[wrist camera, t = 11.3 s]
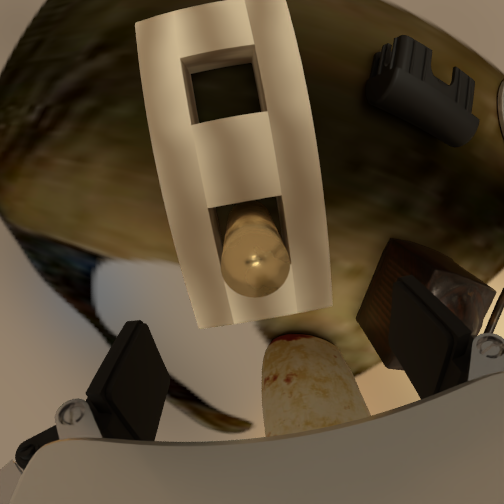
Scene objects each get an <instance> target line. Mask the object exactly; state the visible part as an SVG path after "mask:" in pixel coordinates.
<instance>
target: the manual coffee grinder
mask: <svg viewBox="0 0 504 504" xmlns="http://www.w3.org/2000/svg"><path fill="white" fill-rule="evenodd" d="M407 275H413V276H414V277H415V278H416V279H417V280H418V281H420V282H421V283H422V284H423V285H424V286H425V287H426V288H427V289H428V290H429V291H430V292H432V293H433V294H434V295H435V296H436V297H437V298H438V299H439V300H440V301H441V302H442V303H443V304H444V305H445V306H446V307H448V308H449V309H450V310H451V311H452V312H453V313H454V314H455V315H456V316H457V317H458V318H459V319H460V320H461V321H462V322H463V323H464V324H465V325H466V326H467V327H468V328H469V329H470V330H471V331H472V333H471V336H472V337H473V338H474V339H475V338H476V336H477V335H478V333H479V331H480V329H481V327H482V323H483V319H484V317H485V315H486V313H487V311H488V309H489V307H490V305H491V303H492V301H493V299H494V297H495V295H496V291H495V290H494V289H493V288H491V287H490V286H488V285H487V284H485V283H484V282H483V281H481V280H480V279H478V278H477V277H475V276H474V275H472V274H471V273H469V272H468V271H466V270H465V269H463V268H462V267H461V266H459V265H458V264H457V263H455V262H454V261H453V260H452V259H451V258H449V257H447V256H445V255H443V254H442V253H440V252H437V251H435V250H432V249H430V248H427V247H425V246H422V245H419V244H416V243H413V242H411V241H405V240H399V239H394V238H390V240H389V242H388V244H387V246H386V247H385V249H384V251H383V253H382V256H381V258H380V261H379V263H378V265H377V268H376V270H375V273H374V275H373V277H372V280H371V282H370V285H369V287H368V290H367V292H366V295H365V297H364V300H363V302H362V305H361V307H360V309H359V312H358V314H357V317H356V321H357V322H358V323H359V324H360V326H361V328H362V329H363V331H364V332H365V334H366V336H367V337H368V339H369V341H370V342H371V344H372V345H373V347H374V349H375V350H376V352H377V354H378V355H379V357H380V358H381V360H382V362H383V364H384V365H385V367H387V368H388V369H396V370H404V369H403V368H402V366H401V364H400V363H399V361H398V359H397V358H396V356H395V355H394V353H393V351H392V350H391V348H390V346H389V342H388V337H389V328H390V317H391V305H392V289H393V283H394V282H396V280H397V278H399V277H403V276H407ZM503 308H504V288H503V290H502V292H501V294H500V296H499V298H498V300H497V302H496V305H495V307H494V310H493V312H492V314H491V317H490V319H489V322H488V324H487V326H486V329H485V331H484V333H493V332H494V329H495V327H496V324H497V322H498V320H499V317H500V315H501V313H502V310H503ZM484 333H483V334H484Z"/></svg>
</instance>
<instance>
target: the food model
mask: <svg viewBox="0 0 504 504" xmlns="http://www.w3.org/2000/svg"><path fill="white" fill-rule="evenodd" d="M262 407H263V418H264V426H265V434H266V437H270V436H278V435H285V434H291V433H297V432H303V431H309V430H314V429H319V428H324V427H329V426H333V425H338V424H342V423H346V422H350V421H354V420H358V419H362V418H365V417H369V416H371V415H370V412H369V410H368V408H367V406H366V404H365V402H364V399H363V397H362V395H361V393H360V391H359V388H358V385H357V383H356V381H355V378H354V376H353V374H352V372H351V370H350V368H349V366H348V365H347V363H346V361H345V360H344V358H343V356H342V354H341V352H340V350H339V349H338V347H336V346H335V345H333V344H331V343H329V342H328V341H326V340H323V339H320V338H317V337H314V336H311V335H303V334H287V335H282V336H279V337H277V338H275V339H274V340H273V341H272V342H271V343H270V344H269V346H268V348H267V349H266V352H265V355H264V359H263V366H262Z"/></svg>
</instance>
